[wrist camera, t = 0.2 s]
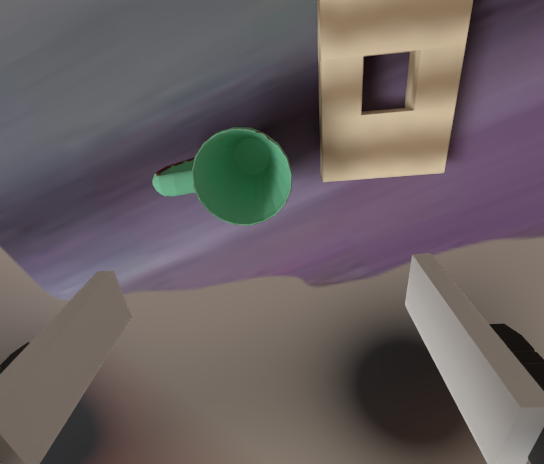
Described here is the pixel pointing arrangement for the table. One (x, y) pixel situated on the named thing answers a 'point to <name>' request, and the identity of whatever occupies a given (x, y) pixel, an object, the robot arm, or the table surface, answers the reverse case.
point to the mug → (233, 176)
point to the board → (419, 94)
